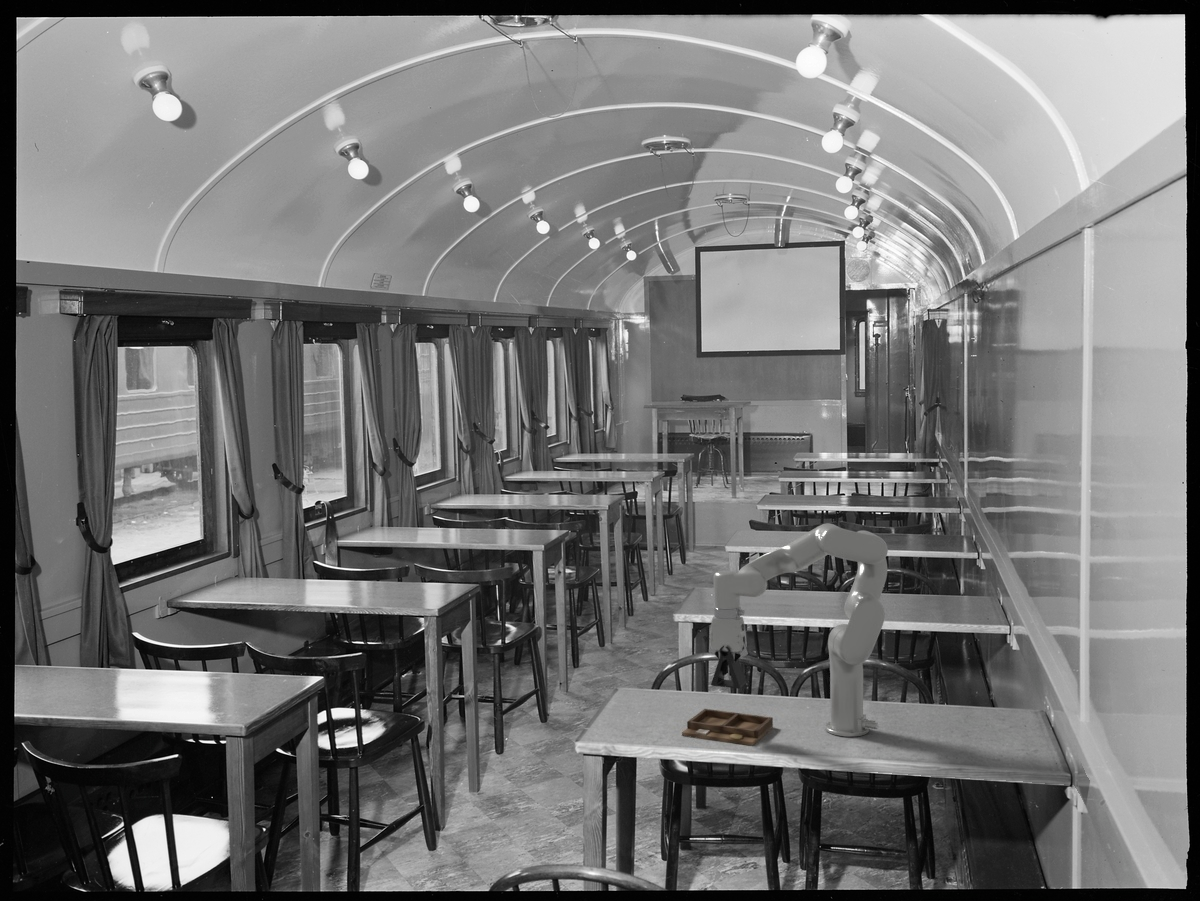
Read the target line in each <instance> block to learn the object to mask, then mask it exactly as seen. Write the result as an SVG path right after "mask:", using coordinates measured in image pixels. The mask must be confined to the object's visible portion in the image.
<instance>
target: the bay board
mask: <svg viewBox="0 0 1200 901" xmlns="http://www.w3.org/2000/svg"><path fill="white" fill-rule="evenodd" d="M686 722H687V724H686V729H684V730H682V732H681V736H682V735H685V736H684V737H688V736H691V737H690V738H695V737H697V738H696V739H702V738H703V740H708V741H716V742H717V741H718V742H724V743H730V744H731V743H732V744H738V745H745V746H752V747H753V746H755V744H757V743H758V742H759V741H760V740H761V739H762V738H763V737H764V736H765V735H766V734H767V733H768V732H770V731H771V729H772V728H773V727H774V724H773V717H771V716H763V715H755V714H747V713H740V712H733V711H726V710H725V711H724V710H719V709H708V708H704V709H702V710H701V711H699V712H698V713H697V714H695V715H694V716H693V717H692V718H690V719H688V720H687V721H686Z"/></svg>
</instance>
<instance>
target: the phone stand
mask: <svg viewBox="0 0 1200 901" xmlns="http://www.w3.org/2000/svg"><path fill="white" fill-rule="evenodd" d="M723 647H724V646H723ZM723 647H721V648H720V658H719V659H718V661H717V664H716V668H715V671H714V674H713V677H712V680H711V682H710V685H711V686H712V687H722V688H728V689H729V688H731V689H740V688H742V687H743V686H744V685H745V684H747V678H746V676H745V672H744V671H743V668H742V665H741V663H740V660H739V659H740V658H739V659H738V660H737V661H736V662H734V663H733V659H732V657H731V652H730V649H729V647H727V646H726V648H727V650H728V652H723V651H722V648H723ZM725 659H726V660H727V662H728V671H729V670H730V673H731V676H730V677H731V679H725V676H726V675H722V666H723V662H724V660H725Z"/></svg>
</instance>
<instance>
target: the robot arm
mask: <svg viewBox="0 0 1200 901" xmlns="http://www.w3.org/2000/svg"><path fill="white" fill-rule="evenodd" d="M888 549H889V548H888V544H887V543H886V541H885V540H884V539H883V538H882V537H881V536H879V535H877V534H876V533H873V532H871V531H868V530H858V531H854V530H850V529H847V528H842V527H840V526H837V525H836V524H833V523H829V522H827V523H823V524H820V525H818V526H816V527H815V528H813V529H811V530H810V531H808V532H806V533H805V534H803V535H801V536H799V537H798V538H796V539H795V540H793V541H792V542H789V543H787V544H786V545H783V546H781V547H778V548H776V549H774V550H773V551H769V552H767V553H765V554H763V555H761V556H759V557H757V558H755V559H753V560H752V561H750V562H748V563H747V564H745V565H744V566H742V567H741V568H740V569H739V570H738V572H737V571H734V570H718V571H715V573H714V574H713V576H712V577H713V607H714V608H713V612H714V613H713V614H714V615H713V617H712V619H711V624H710V636H709V638H710V639H709V649H708V652H709V653H710V654H712V655H714V656H715V657H716V658H717V659H718V660H719V658H720V648H721V647H723V646H724V647H723V648H722V651H723V652H728V650H727V648H726V646H727V647H729V649H730V652H731V657H732V659H733V663H734V662H736V661H737V660H738V659H740V658H742V657H746V656H747V655H748V654H749V653H748V649H747V646H748V645H747V644H748V643H747V632H746V625H745V621H744V617H743V616H744V615H745V610H743V609H741V603H740V602H741V600H740V598H741V597H749V598H757V597H760V596H762V595H763V594H764V593H765V592H766V591H767V588H768V581H769V580H771V579H773V578H775V577H777V576H780V575H783V574H787V573H797V572H799V571H802V570H804V569H806V568H808V567H810V566H812V565H813V564H815V563H816V562H818V561H820V560H821V559H823V558H825V557H826V556H828V555H829V556H831V557H834V558H838V559H843V560H847V561H852V562H857V571H856V575H855V578H854V582H853V584H852V586H851V588H850V591H849V594H848V596H847V598H846V599H845V603H844V607H843V609H844V610H843V612H844V613H845V616H846V617H847V618H848V623H842V624H838V625H836V626H834V627H833V628H832V629H831V631H830V633H829V634H828V640H827V649H828V655H829V656H828V657H829V671H830V672H829V673H830V675H829V676H830V677H829V682H830V684H829V687H830V688H829V689H830V690H829V691H830V692H829V694H830V696H829V697H830V701H829V702H830V706H829V707H830V708H829V709H830V721H828V722H826V723H825V725H824V726H825V727H824V728H825V731H826V732H827V733H829V734H831V735H835V736H839V737H846V738H847V737H851V738H852V737H861V736H864V735H866V734H868V733H869V731H870V730H869V729H871V730H878V727H879V724H878V722H876V720H872V719H871V720H870V719H868V718H867V714H864V665H863V664H864V663H865V662H866V661H867V660H868V659H869V658H870V657H871V655H872V652H873V651H874V647H875V645H876V644H877V640H878V638H879V635H880V634H881V631H882V628H883V626H884V623H885V614H886V612H885V608H884V606H883V604H882V603H881V601H880V599H881V596H882V593H883V590H884V587H885V584H886V581H887V577H888V562H887V559H886V557H887V556H888V552H889V550H888ZM728 674H729V676H730V677H731V673H730V670H729V666H728V662H727V660H726V659H725V660H724V662H723V666H722V675H725V676H726V675H728Z"/></svg>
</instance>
